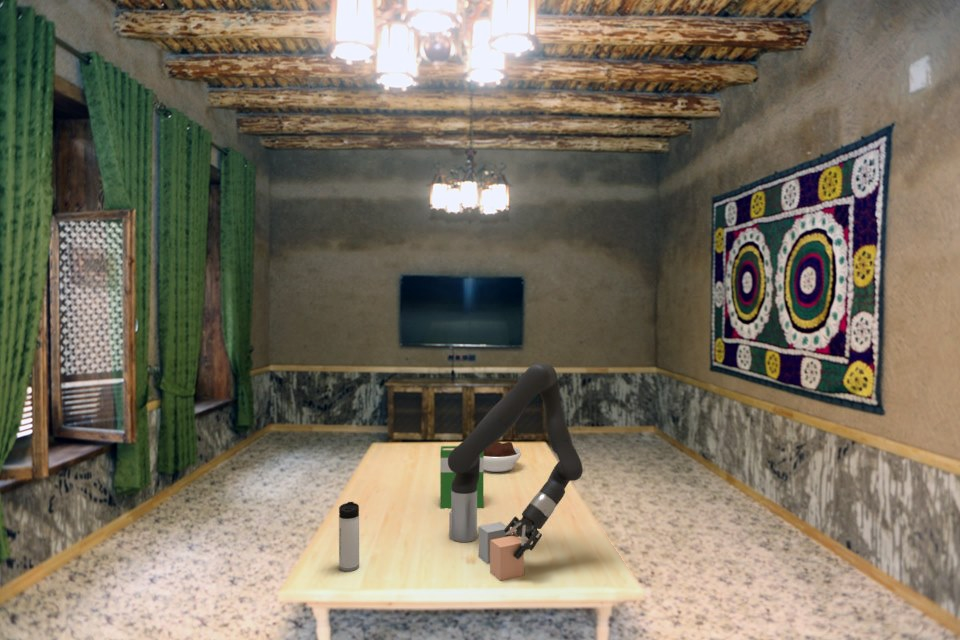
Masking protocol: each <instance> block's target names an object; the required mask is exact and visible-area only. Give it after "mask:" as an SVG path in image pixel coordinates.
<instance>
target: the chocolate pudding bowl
mask: <svg viewBox="0 0 960 640" xmlns="http://www.w3.org/2000/svg"><path fill="white" fill-rule="evenodd" d="M513 444H514V443H512V442H511V441H506V442H502V443H501V442H500V441H499V440H497V441H496V442H495V443H493V444H492V445H491V446H489V447H488V448H486V449H485V450H484V471H487V472H493V473H494V472H495V473H499V472H502V473H503V472H507V471H510V470H512V469H513V468H515V466H516V463H517V462H518V461H519V459H520V458H521V457H522V451H521V450H520V449H519V448H517V447H514V446H513Z"/></svg>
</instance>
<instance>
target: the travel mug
mask: <svg viewBox="0 0 960 640" xmlns="http://www.w3.org/2000/svg"><path fill="white" fill-rule="evenodd" d="M338 508H339V509H338V513H339V514H338V568H339V570H340V571H343V572H353V570H354V571H356V570H358V569H359V568H360V505H359V503H355V502H354V501H348V502H346V503H342V504H341V505H340V506H339V507H338Z"/></svg>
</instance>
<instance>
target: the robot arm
mask: <svg viewBox="0 0 960 640" xmlns="http://www.w3.org/2000/svg"><path fill="white" fill-rule="evenodd" d="M559 387H560V386H559V379H558V375H557V371H556V369H555V367H553V366H552V365H551V364H550V363H546V362H545V363H541V362H540V363H535V364H532V365H531V366H529V367H528V368H527V369H526V370H525V372H524V373H523V374H522V376H521V377H520V378H519V380H518V381H517V382H516V383H515V385H514V386H513V387H512V389H511V390H510V391H509V392H508V393H506V394H505V395H504V396H503V397H502V398H501V399H500V400H499V401H498V402H497V403H496V404H495V405H494V406H493V407H492V408H491V409H490V410H489V411H488V412H487V413H486V415H485V416H484V417H483V418H482V419H481V421H480V422H479V423H478V424H477V426H475V428H474V429H473V430H472V431H471V433H470V434H469V435H468V436H467V437H466V438H465V439H464V440H463V441H461V442H460V443H459V444H458V445H456V446H457V447H456V448H455V449H453V450H452V451H451V452H450V454H449V457H448V466H449V468H450V470H451V471H452V472H454V473H456V475H455V477H454V479H453V481H452V485H451V509H450V512H449V515H448V516H449V518H448V519H449V521H448V522H449V525H448V526H449V531H448V532H449V534H448V535H449V539H450V540H453V541H455V542H459V543H469V542H472V541H473V542H474V541H475V540H476V539H477V538H478V508H477V484H478V481H479V470H480V456H479V455H480V454H481V453H482V452H483V451H484V450H485V449H486V448H488V447H489V446H491V445H492V444H493V443H495V442H496V441H499V440H500V439H501V438H502V437H504V436H505V435H506V433H507V434H508V431H510V429H512V427H513V426H515V424H516V423H517V422H518V420H519V419H520V417H521V415H522V413H523V412H524V409H525V408H526V407H527V406H528V405H529V403H530V402H531V401H533V400H534V399H535V397H537V396H538V395H540V396H541V399H542V402H543V407H544V408H543V409H544V414H545V415H544V418H545V428H546V429H545V430H546V432H547V436H548V439H549V444H550V447H551V449H552V451H553V452H554V453H555V454H556V456H557V458H558V462H557V463H556V464H555V466H554V467H553V469H552V471H551V472H550V475H549V476H548V479H547V481H545V483H544V484H543V486H542V487H541V488H540V490H539V491H538V492H537V493H536V494H535V496H534V497H533V498H532V499H531V501H530V502H529V503H528V505H527V506H526V507H525V509H523V512H521V515H522V517H521V519H519V518H518V517H517V516H514V517H513V518H512V519H511V520H510V522H509V523H508V524H507V525H506V526H507V527H506V528H505V529H504V531H505V533H506V536H505V537H508V536H512V535H514V536H515V537H517V538H519V537H520V538H521V541H522V542H521V545H520V546H519V547H518V549H517V550H516V551H515V553H514V554H513V556H514V557H515V558H516V559H519V558H520V557H521V556H522V555H523V553H524V554H525V552H526V551H528V550H529V551H533V550H534V548H535V547H536V546H537V543H538V542H539V541H540V539H541V537H543V534H542V533H541V531H540V530H541V529H542V528H543V526H544V525H545V524H546V523H547V521H548V520H549V519H550V517H551V516H552V514H553V513H554V512H555V509H556V507H557V506H558V505H559V503H560V502H561V500H562V499H563V497H564V496H565V494H566V488H567V486H568V484H569V482H572V481H573V482H574V481H577V480H579V479H580V478H581V477H582V475H583V473H584V472H583V470H584V469H583V463H582V461H581V458H580V456H579V454H578V451H577V450H576V448H575V446H574V444H573V441H572V438H571V434H570V433H571V432H570V431H569V428H568V425H567V420H566V417H565V412H564V410H563V404H562V400H561V395H560V394H561V393H560V389H559ZM509 529H510V531H509Z"/></svg>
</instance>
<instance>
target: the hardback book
mask: <svg viewBox="0 0 960 640" xmlns="http://www.w3.org/2000/svg"><path fill="white" fill-rule="evenodd" d="M457 446H458V445H451V446H450V445H445V446H443V445H442V446H440V453H439V454H440V455H439V456H440V462H439V463H440V469H439V470H440V473H439V475H440V476H439V477H440V482H439V483H440V484H439V485H440V488H439V489H440V497H439V498H440V500H439V501H440V502H439V503H440V504H439V505H440V506H439V507H440V508H439V509H440V510H445V508H448V509H449V510H451V485H452V481H453V479H454V477H455V475H456V473H454V472H452V471H451V470H450V468H449V466H448V457H449V454H450V452H451V451H452V450H453V449H455V448H456V447H457ZM479 456H480V470H479V481H478V484H477V509H484V475H485V473H484V471H485V470H484V451H483V452H482V453H481V454H480V455H479ZM448 509H447V510H448Z"/></svg>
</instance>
